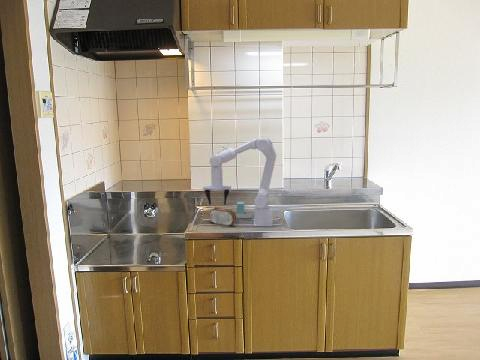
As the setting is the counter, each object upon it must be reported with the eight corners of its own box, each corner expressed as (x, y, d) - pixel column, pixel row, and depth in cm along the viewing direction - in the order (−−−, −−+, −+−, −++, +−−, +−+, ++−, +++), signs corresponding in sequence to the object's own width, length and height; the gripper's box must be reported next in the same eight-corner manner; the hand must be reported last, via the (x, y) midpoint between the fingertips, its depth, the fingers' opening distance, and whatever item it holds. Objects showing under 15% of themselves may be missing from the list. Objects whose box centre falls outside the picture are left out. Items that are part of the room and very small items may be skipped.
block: (244, 212, 223) (244, 202, 222) (244, 214, 219) (244, 203, 218) (237, 212, 223) (237, 202, 222) (237, 214, 220) (236, 203, 218)
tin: (236, 225, 198) (236, 209, 196) (233, 227, 195) (233, 211, 193) (212, 221, 205) (211, 206, 204) (208, 223, 202) (208, 207, 201)
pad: (252, 215, 216) (252, 214, 216) (252, 219, 209) (252, 217, 208) (235, 215, 217) (235, 214, 216) (235, 219, 209) (235, 218, 209)
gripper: (231, 176, 203) (231, 202, 205) (203, 177, 203) (204, 202, 205) (230, 179, 196) (231, 205, 198) (201, 179, 196) (202, 205, 198)
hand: (217, 204), depth 201 cm, fingers open, 7 cm apart
